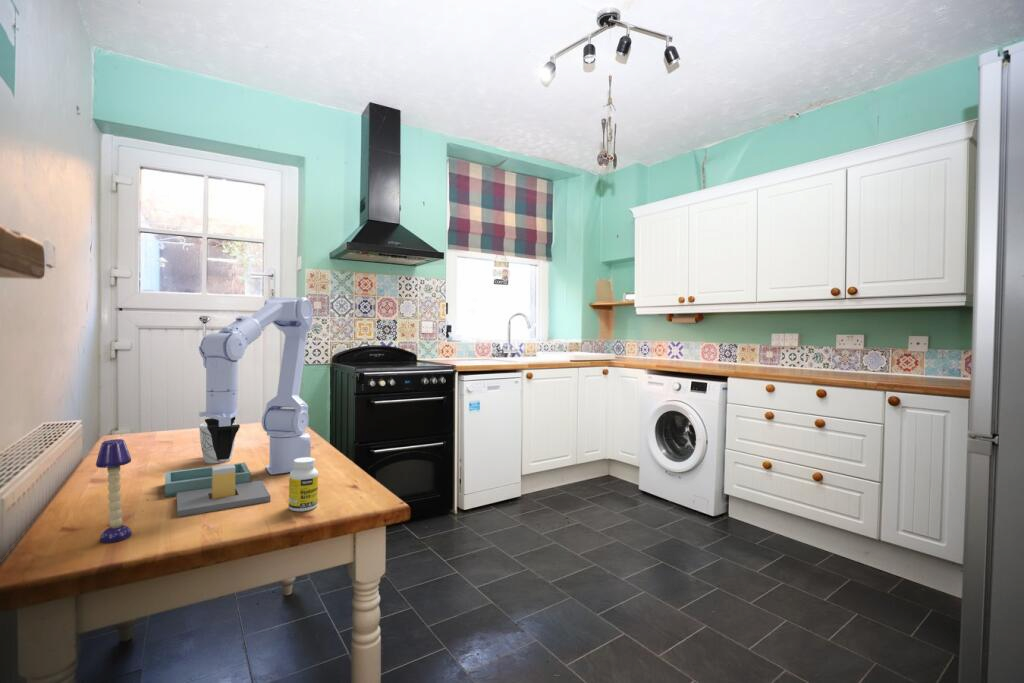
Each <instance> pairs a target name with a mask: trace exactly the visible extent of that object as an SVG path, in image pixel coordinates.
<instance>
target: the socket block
mask: <svg viewBox="0 0 1024 683" xmlns="http://www.w3.org/2000/svg"><path fill="white" fill-rule="evenodd" d="M267 502H268V503H269V502H271V494H270V492H269V491H268V490H267V488H266V486H265V484H264V482H263V481H262V480H255V481H250V482H247V483H241V484H235V496H229V497H222V498H216V499H212V488H206V489H199V490H192V491H185V492H178V493H177V496H176V511H177V512H176V514H177V517H178V518H182V517H186V516H193V515H198V514H203V513H204V514H205V513H209V512H215V511H221V510H227V509H234V508H238V507H239V508H240V507H246V506H251V505H258V504H264V503H267Z"/></svg>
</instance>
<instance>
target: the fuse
mask: <svg viewBox="0 0 1024 683" xmlns="http://www.w3.org/2000/svg"><path fill="white" fill-rule="evenodd" d="M234 464H235V463H229V465H228V464H222V465H221V466H220V465H213V467H212V466H211V467H212V499H216V498H222V497H229V496H235V465H234Z"/></svg>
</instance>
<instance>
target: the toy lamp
mask: <svg viewBox="0 0 1024 683" xmlns="http://www.w3.org/2000/svg"><path fill="white" fill-rule="evenodd" d="M131 462H132V457H131V454H130V452H129V449H128V447H127V443H126V441H125V440H124V439H122V438H120V439H119V438H117V439H109V440H104V441H103V442H101V445H100V448H99V451H98V455H97V459H96V463H95V466H96V467H97V468H99V469H107V473H108V476H107V482H108V485H107V490H108V496H107V499H108V500H109V502H108V509H109V513H108V516H109V519H110V520H109V527H108V528H106V529H105V530H104V531H103V532H102V533H101V535H100V538H99V542H100V543H104V544H105V543H106V544H109V543H117V542H119V541H123V540H126V539H127V538H129V537H131V536H132V534H133V533H132V530H131V528H130V527H129V526H127V525H124V524H123V518H122V516H123V510H122V505H123V503H122V500H121V499H122V492H121V487H122V486H121V482H120V481H121V477H122V476H121V473H120V472H121V466H125V465H128V464H129V463H131Z"/></svg>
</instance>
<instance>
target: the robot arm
mask: <svg viewBox="0 0 1024 683" xmlns="http://www.w3.org/2000/svg"><path fill="white" fill-rule="evenodd" d="M313 317H314V308H313V305H312V303H311V301H310V299H309V298H308V297H306V296H302V297H287V296H283V297H279V296H271V297H269V298H267V299H266V300H264V304H263V306H262V307H261V308H259V309H258V310H257V311H255V313H253V314H252V315H251V316H244V315H239V316H237V317H235V321H233V322H232V323H230V324H228V325H227V326H223V327H222V328H221V330H220V331H218V332H210V333H208V334H207V335H205V336H204V337H203V338H202V340H201V342H200V345H199V346H198V352H199V354H200V357H201V358H202V361H203V362H202V365H203V367H204V369H206V370H205V411H199V412H198V416H199V417H206V418H205V419H204V423H207V429H208V430H209V432H210V434H211V438H212V443H213V448H214V451H215V453H216V457H217V460H224V459H229V457H230V454H231V450H232V445H233V441H234V438H235V439H236V436H237V433H238V432H239V430H240V428H241V426H240V424H236V425H232V424H233V422H235V420H236V416H238V415H239V414H240V412H239V411H240V410H239V409H238V408H239V407H238V404H239V402H238V400H239V398H238V397H239V389H238V387H239V382H238V381H239V360H240V359H242V358H243V357H244V355H245V352H246V349H247V348H248V346H249V345H251V344H252V343H254V342H255V341H256V340H257V339H259V338H260V336H261V335H262V330H263V329H264V328H266V327H268V326H269V325H271V324H272V325H273V326H274V327H276V329H278V331H281V332H282V333H283V334H284V344H283V350H282V358H281V364H280V371H279V378H278V383H277V384H278V385H277V386H278V387H277V392H276V396H274V397H273V398H271V399H270V400H269V401H267V403H266V407H265V410H264V413H263V414H262V417H261V426H262V429H263V430H264V431H265V432H266V436H269V464H267V465H265V469H266V471H267V472H268V473H269V475H278V474H287V473H291V471H293V470H294V469H295V468H294V466H293V465H294V460H295V459H297V458H303V457H311V451H312V450H311V446H312V445H311V442H312V441H311V437H310V434H309V433H308V432H305V431H306V430H307V428H308V426H309V424H310V423H309V422H310V418H309V417H310V416H309V405H308V404H307V402H305V401H304V400H303V399H302V398H301V397H300V392H301V384H302V377H303V376H302V375H303V369H304V362H305V354H306V348H307V342H308V341H307V340H308V334H309V333H308V332H310V331H311V330H312V324H313ZM311 458H312V457H311Z"/></svg>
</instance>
